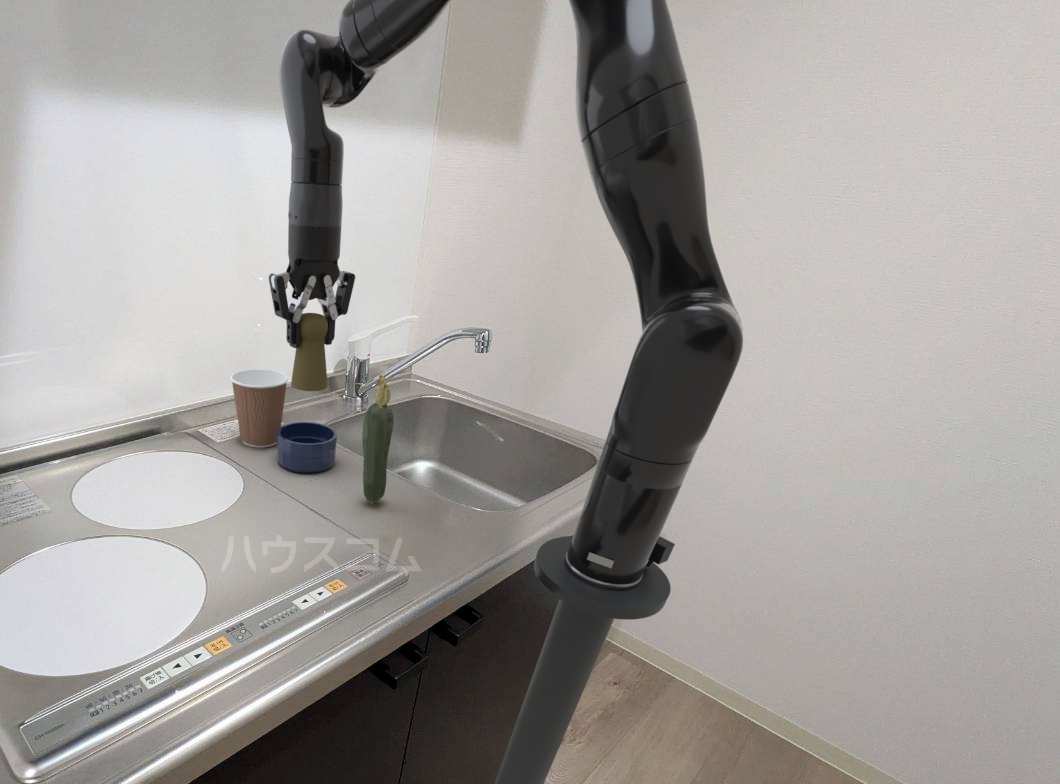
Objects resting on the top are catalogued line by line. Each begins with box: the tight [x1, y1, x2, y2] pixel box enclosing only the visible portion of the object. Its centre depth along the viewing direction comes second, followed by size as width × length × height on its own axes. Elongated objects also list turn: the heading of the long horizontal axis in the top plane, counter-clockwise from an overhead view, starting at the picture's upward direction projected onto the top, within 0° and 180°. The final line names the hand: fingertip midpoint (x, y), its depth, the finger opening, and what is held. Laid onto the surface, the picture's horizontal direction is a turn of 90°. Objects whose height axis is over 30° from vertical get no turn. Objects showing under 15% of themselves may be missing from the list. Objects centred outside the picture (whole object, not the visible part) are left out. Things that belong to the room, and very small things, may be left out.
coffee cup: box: [229, 368, 290, 449], centre depth 106 cm, size 10×10×12 cm
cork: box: [290, 312, 329, 392], centre depth 92 cm, size 6×6×11 cm
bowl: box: [276, 421, 338, 474], centre depth 101 cm, size 10×10×6 cm
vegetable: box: [361, 374, 395, 505], centre depth 85 cm, size 4×4×20 cm
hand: (310, 344), depth 91 cm, fingers closed on cork, 5 cm apart
